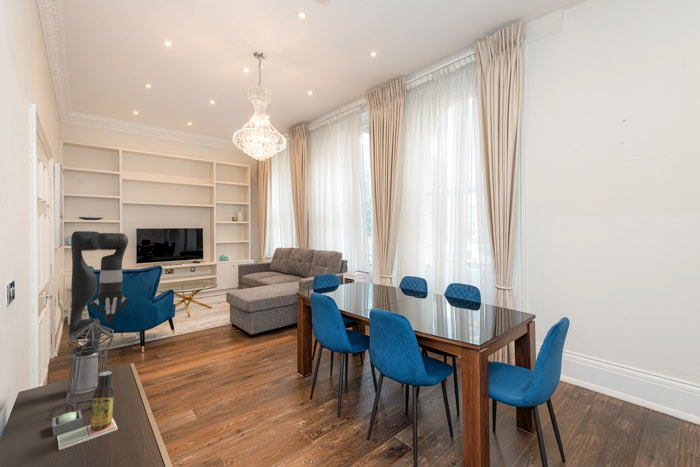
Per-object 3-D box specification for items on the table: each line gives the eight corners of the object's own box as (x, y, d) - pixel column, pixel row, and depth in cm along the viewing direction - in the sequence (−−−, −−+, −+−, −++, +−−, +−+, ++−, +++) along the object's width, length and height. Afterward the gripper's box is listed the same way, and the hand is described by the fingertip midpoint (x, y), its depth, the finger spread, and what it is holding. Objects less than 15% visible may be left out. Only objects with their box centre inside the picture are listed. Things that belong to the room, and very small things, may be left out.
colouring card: (57, 437, 111) (57, 434, 111) (112, 419, 122) (112, 417, 122) (59, 450, 104) (59, 448, 104) (117, 429, 115) (117, 427, 115)
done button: (57, 426, 117) (58, 415, 117) (75, 420, 121) (75, 410, 121) (58, 431, 114) (59, 420, 114) (76, 426, 117) (77, 415, 117)
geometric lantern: (64, 403, 134) (70, 321, 136) (110, 393, 143) (115, 317, 145) (59, 419, 121) (66, 329, 123) (110, 407, 131) (115, 324, 133)
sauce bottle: (86, 432, 112) (88, 377, 113) (95, 423, 118) (97, 370, 119) (108, 430, 114) (109, 375, 114) (115, 420, 120) (117, 369, 121)
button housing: (52, 426, 117) (52, 418, 117) (80, 418, 123) (80, 409, 123) (53, 435, 111) (53, 426, 112) (82, 426, 117) (82, 418, 117)
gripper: (91, 283, 121) (90, 327, 120) (132, 280, 130) (130, 321, 130) (89, 281, 126) (87, 323, 125) (128, 278, 135) (127, 318, 135)
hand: (109, 322), depth 128 cm, fingers closed
